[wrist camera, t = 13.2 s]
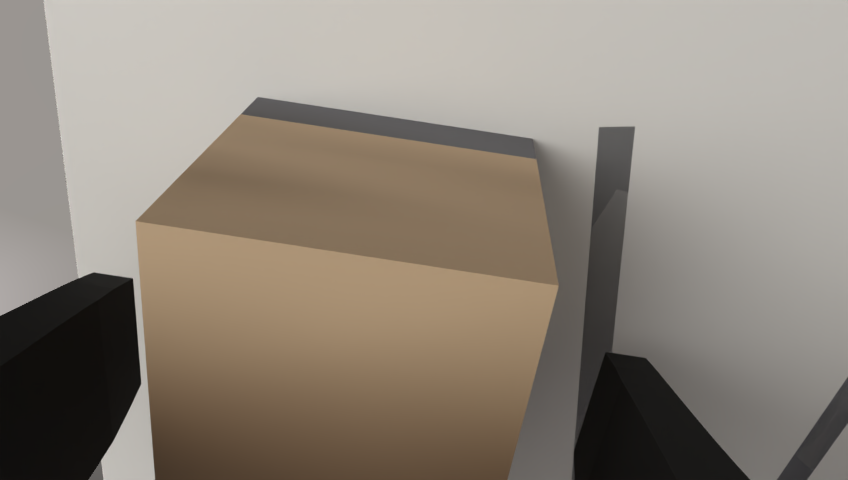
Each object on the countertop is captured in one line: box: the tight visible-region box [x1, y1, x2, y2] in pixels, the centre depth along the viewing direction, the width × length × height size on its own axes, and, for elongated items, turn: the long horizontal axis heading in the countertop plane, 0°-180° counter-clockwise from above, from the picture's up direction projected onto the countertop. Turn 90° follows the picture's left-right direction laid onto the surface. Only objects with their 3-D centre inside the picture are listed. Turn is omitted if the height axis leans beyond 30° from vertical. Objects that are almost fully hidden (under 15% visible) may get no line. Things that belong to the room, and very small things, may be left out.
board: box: [44, 0, 848, 480], centre depth 13 cm, size 16×24×1 cm, turn 82°
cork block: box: [135, 97, 559, 480], centre depth 10 cm, size 7×4×4 cm, turn 172°
